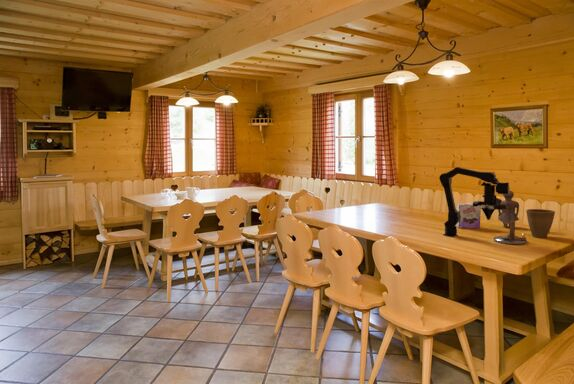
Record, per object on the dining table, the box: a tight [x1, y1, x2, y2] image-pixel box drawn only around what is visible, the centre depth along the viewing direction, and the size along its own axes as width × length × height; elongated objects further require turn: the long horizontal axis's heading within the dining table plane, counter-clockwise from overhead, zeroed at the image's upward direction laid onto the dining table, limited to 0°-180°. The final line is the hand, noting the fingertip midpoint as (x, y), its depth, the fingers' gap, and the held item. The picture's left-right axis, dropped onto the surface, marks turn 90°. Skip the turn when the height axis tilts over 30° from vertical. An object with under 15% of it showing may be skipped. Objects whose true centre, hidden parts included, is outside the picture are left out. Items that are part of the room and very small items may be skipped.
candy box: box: [456, 202, 482, 230], centre depth 287 cm, size 14×6×16 cm, turn 81°
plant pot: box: [525, 208, 556, 239], centre depth 256 cm, size 15×15×16 cm
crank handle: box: [500, 221, 527, 241], centre depth 243 cm, size 12×13×11 cm
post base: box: [493, 233, 528, 246], centre depth 246 cm, size 17×17×5 cm
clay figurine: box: [497, 190, 520, 228], centre depth 285 cm, size 13×10×25 cm
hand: (488, 219), depth 251 cm, fingers closed
